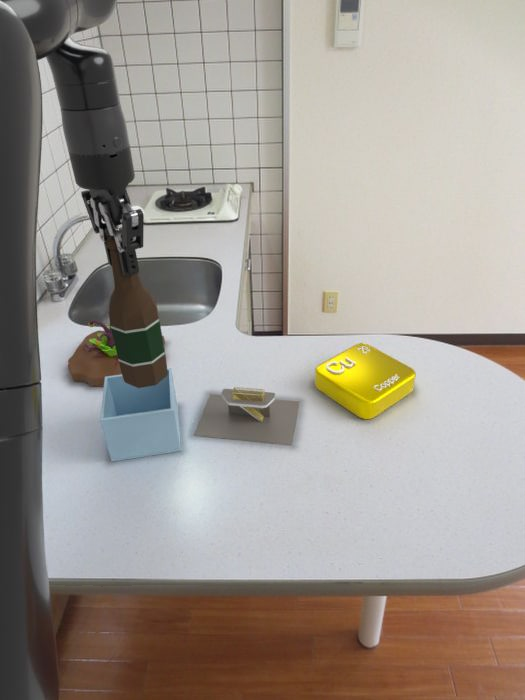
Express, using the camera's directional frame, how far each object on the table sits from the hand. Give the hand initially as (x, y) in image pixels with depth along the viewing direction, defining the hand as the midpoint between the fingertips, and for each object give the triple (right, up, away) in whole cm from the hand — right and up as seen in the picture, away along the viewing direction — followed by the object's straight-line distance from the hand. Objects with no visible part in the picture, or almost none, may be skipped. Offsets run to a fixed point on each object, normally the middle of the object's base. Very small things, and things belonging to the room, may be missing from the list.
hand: (124, 268), depth 75 cm
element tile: (+40, -19, +30) cm, 54 cm away
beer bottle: (+1, -16, +11) cm, 19 cm away
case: (-1, -27, +21) cm, 34 cm away
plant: (-12, -14, +41) cm, 45 cm away
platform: (+17, -25, +24) cm, 38 cm away
